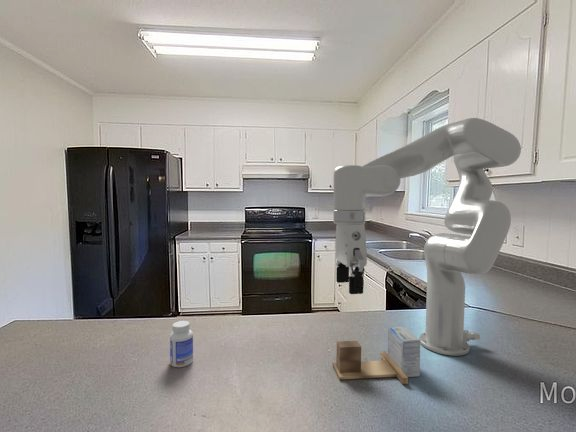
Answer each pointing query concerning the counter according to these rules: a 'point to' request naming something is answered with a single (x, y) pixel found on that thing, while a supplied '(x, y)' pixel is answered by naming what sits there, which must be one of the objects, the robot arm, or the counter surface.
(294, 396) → the counter surface
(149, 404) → the counter surface
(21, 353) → the counter surface
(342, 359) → the wooden t-shaped piece
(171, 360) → the pill bottle
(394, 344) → the medicine box
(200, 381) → the counter surface
